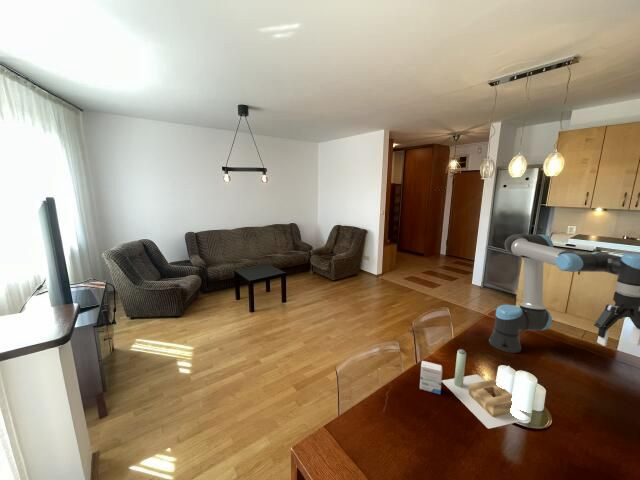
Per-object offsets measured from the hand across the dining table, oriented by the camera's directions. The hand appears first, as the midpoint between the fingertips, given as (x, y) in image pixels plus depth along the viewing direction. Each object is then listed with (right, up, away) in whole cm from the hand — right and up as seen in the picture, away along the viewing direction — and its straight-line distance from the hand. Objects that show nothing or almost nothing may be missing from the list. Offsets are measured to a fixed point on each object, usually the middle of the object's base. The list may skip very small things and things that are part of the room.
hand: (617, 344), depth 104 cm
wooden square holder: (-48, -26, +4) cm, 55 cm away
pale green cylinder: (-56, -24, +14) cm, 63 cm away
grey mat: (-50, -26, +7) cm, 57 cm away
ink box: (-70, -25, +12) cm, 76 cm away
